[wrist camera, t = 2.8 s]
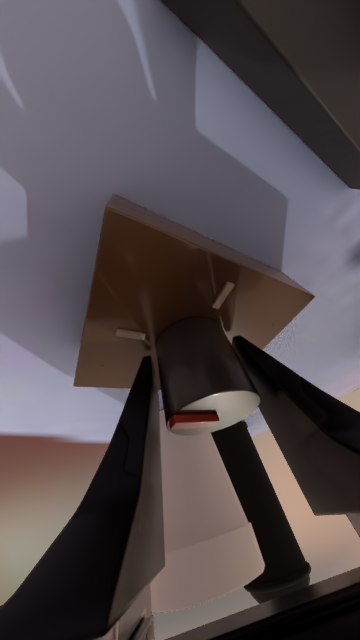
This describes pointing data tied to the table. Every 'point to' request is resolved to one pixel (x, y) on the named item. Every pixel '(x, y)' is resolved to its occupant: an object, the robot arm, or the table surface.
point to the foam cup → (200, 526)
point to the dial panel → (171, 293)
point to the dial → (202, 378)
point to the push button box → (294, 65)
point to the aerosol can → (262, 516)
